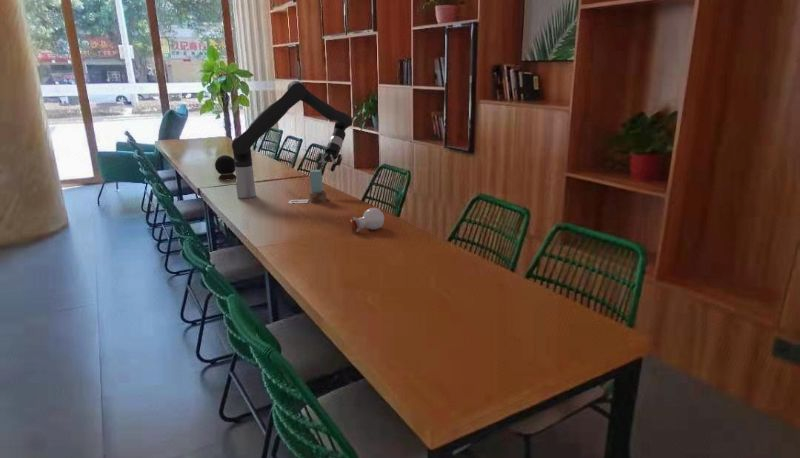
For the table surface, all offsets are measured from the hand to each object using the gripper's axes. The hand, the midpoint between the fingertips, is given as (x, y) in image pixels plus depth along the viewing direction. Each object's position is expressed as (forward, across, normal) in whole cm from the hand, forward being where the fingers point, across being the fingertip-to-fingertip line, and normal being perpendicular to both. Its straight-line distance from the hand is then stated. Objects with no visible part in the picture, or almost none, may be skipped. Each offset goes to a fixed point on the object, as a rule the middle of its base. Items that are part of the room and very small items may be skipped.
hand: (324, 170), depth 280 cm
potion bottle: (+44, +51, -25) cm, 72 cm away
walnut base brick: (+17, +1, +3) cm, 17 cm away
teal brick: (+14, +1, 0) cm, 14 cm away
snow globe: (-6, -89, +27) cm, 93 cm away
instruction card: (+21, -7, -1) cm, 23 cm away
